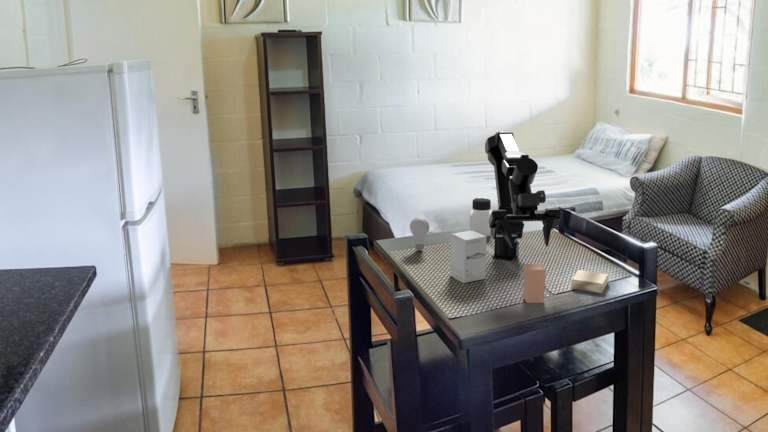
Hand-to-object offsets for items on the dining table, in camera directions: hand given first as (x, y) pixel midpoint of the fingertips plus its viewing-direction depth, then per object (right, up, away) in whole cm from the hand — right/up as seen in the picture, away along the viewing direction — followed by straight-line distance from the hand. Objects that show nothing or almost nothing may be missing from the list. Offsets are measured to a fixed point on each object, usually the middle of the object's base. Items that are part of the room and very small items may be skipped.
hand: (529, 246), depth 185 cm
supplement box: (-15, -10, +14) cm, 22 cm away
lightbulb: (-27, -3, +37) cm, 46 cm away
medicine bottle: (-5, +2, +55) cm, 55 cm away
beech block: (+18, -11, +7) cm, 22 cm away
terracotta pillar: (0, -14, -2) cm, 14 cm away
